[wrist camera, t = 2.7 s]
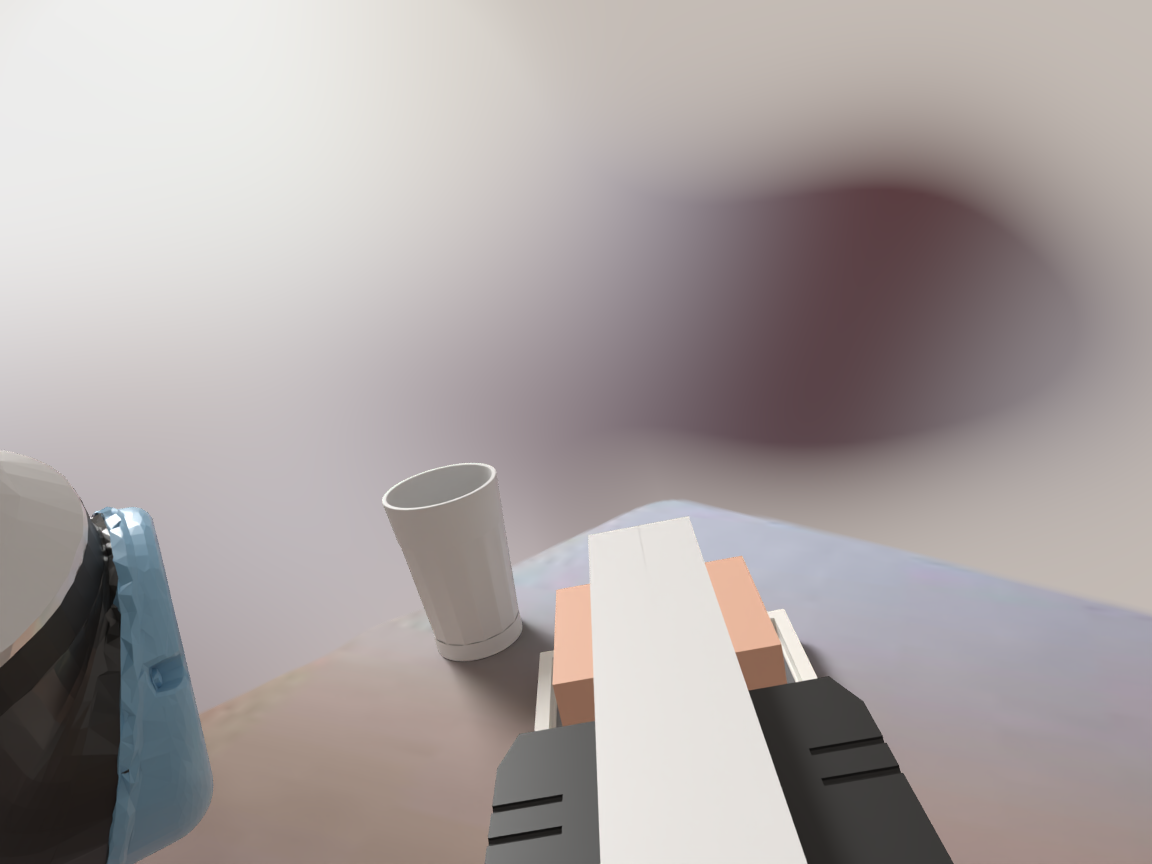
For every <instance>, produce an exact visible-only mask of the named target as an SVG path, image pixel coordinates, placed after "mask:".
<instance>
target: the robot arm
mask: <svg viewBox="0 0 1152 864" xmlns="http://www.w3.org/2000/svg"><path fill="white" fill-rule="evenodd" d="M588 544H589V571H590V598H591V624H592V651H593V678H594V704H595V721H591V722H585V723H579V724H574V725H568V726H562V727H557V728H551V729H545V730H540V731H534V732H528V733H523V734H519V735H518V737H517V738H516V740H515V742H514V743H513V745H512V746H511V748H510V749H509V751H508V753H507V754H506V756H505V757H504V759H503V760H502V762H501V764H500V765H499V767H498V768H497V775H496V782H495V790H494V797H493V805H492V807H493V814H491V820H490V827H489V835H488V841H489V846H488V847H487V850H486V857H485V864H954V863H953V862H952V860H951V858H950V856H949V854H948V853H947V851H946V849H945V847H944V845H943V844H942V842H941V840H940V838H939V836H938V835H937V833H936V831H935V829H934V827H933V826H932V824H931V822H930V820H929V819H928V817H927V815H926V813H925V811H924V810H923V808H922V806H921V804H920V802H919V801H918V799H917V797H916V795H915V793H914V792H913V790H912V788H911V786H910V784H909V783H908V781H907V779H906V777H905V775H904V774H903V773H901V771H900V768H899V765H898V763H897V761H896V759H895V757H894V756H893V754H892V752H891V750H890V748H889V747H888V745H887V743H884V740H883V736H882V734H881V732H880V730H879V729H878V727H877V725H876V723H875V722H874V720H873V718H872V716H871V714H870V713H869V711H868V709H867V707H866V705H865V704H864V702H863V701H862V700H861V699H859V698H858V697H856V696H855V695H854V694H852V693H851V692H850V691H848V690H847V689H845V688H844V687H843V686H841V685H840V684H839V683H837V682H836V681H835V680H833V679H832V678H830V677H829V676H828V677H822V678H817V679H811V680H805V681H800V682H794V683H788V684H783V685H777V686H771V687H766V688H760V689H754V690H748V688H747V685H746V682H745V680H744V677H743V674H742V671H741V668H740V665H739V662H738V659H737V656H736V653H735V650H734V647H733V644H732V642H731V639H730V636H729V633H728V630H727V627H726V624H725V621H724V618H723V615H722V612H721V609H720V606H719V603H718V601H717V598H716V595H715V592H714V589H713V586H712V583H711V580H710V577H709V574H708V571H707V568H706V565H705V562H704V560H703V557H702V554H701V551H700V548H699V545H698V542H697V539H696V536H695V533H694V530H693V527H692V524H691V522H690V519H689V516H687V517H682V518H676V519H671V520H666V521H660V522H655V523H650V524H645V525H639V526H634V527H629V528H624V529H618V530H613V531H608V532H602V533H597V534H592V535H588ZM212 794H213V777H212V771H211V766H210V762H209V757H208V753H207V749H206V744H205V740H204V736H203V731H202V727H201V723H200V718H199V714H198V710H197V705H196V701H195V697H194V692H193V688H192V684H191V680H190V675H189V672H188V667H187V662H186V658H185V654H184V650H183V645H182V641H181V637H180V632H179V628H178V624H177V620H176V616H175V612H174V608H173V604H172V599H171V595H170V590H169V586H168V581H167V577H166V573H165V569H164V565H163V560H162V556H161V552H160V548H159V543H158V539H157V535H156V532H155V528H154V524H153V519H152V517H151V516H150V515H149V513H148V512H146V511H145V510H143V509H141V508H136V507H128V508H122V509H115V508H111V507H106V508H104V509H102V510H100V511H95V512H94V514H93V515H92V517H91V518H90V517H89V515H88V513H87V511H86V509H85V507H84V505H83V502H82V501H81V499H80V497H79V496H78V494H77V493H76V491H75V490H74V488H73V487H72V486H71V485H70V483H69V482H68V480H67V479H66V478H65V476H63V475H62V474H61V473H59V472H57V470H55V469H54V468H52V467H51V466H49V465H47V464H45V463H43V462H41V461H38V460H36V459H34V458H31V457H28V456H24V455H21V454H18V453H13V452H7V451H2V450H0V864H134V863H136V862H138V861H140V860H142V859H144V858H145V857H147V856H149V855H151V854H153V853H155V852H157V851H159V850H161V849H163V848H164V847H166V846H168V845H170V844H172V843H174V842H176V841H178V840H179V839H181V838H182V837H184V836H185V835H187V834H188V833H189V832H190V831H192V830H193V829H194V828H195V827H196V825H197V824H198V823H199V822H200V821H201V819H202V818H203V816H204V815H205V813H206V811H207V809H208V807H209V804H210V802H211V799H212Z"/></svg>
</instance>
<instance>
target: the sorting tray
mask: <svg viewBox="0 0 1152 864" xmlns="http://www.w3.org/2000/svg"><path fill="white" fill-rule="evenodd" d="M767 613H768V615H769V617H770V620H771V622H772V624H773V626H774V629H775V631H776V633H777V635H778V638H779V640H780V642H781V645H782V651H783V658H784V665H785V672H786V679H787V684H788V683H794V682H800V681H805V680H811V679H817V676H816V674H815V672H814V670H813V668H812V665H811V663H810V661H809V659H808V657H807V655H806V653H805V651H804V649H803V647H802V645H801V643H800V641H799V639H798V637H797V635H796V633H795V631H794V629H793V627H792V625H791V623H790V620H789V618H788V616H787V614H786V612H785V610H784V609H780V610H774V611H769V612H767ZM553 660H554V650H552V651H546V652H541V653H540V662H539V675H538V689H537V703H536V717H535V731H540V730H545V729H551V728H557V727H562V722H561V718H560V714H559V710H558V705H557V701H556V697H555V693H554V689H553V685H552V683H553Z"/></svg>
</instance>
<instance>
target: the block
mask: <svg viewBox="0 0 1152 864" xmlns="http://www.w3.org/2000/svg"><path fill="white" fill-rule="evenodd" d="M705 565H706V568H707V571H708V574H709V577H710V580H711V583H712V586H713V589H714V592H715V595H716V598H717V601H718V603H719V606H720V609H721V612H722V615H723V618H724V621H725V624H726V627H727V630H728V633H729V636H730V639H731V642H732V644H733V647H734V650H735V653H736V656H737V659H738V662H739V665H740V668H741V671H742V674H743V677H744V680H745V682H746V685H747V688H748V690H754V689H760V688H766V687H771V686H777V685H783V684H787V679H786V672H785V665H784V658H783V651H782V645H781V642H780V640H779V638H778V635H777V633H776V631H775V629H774V626H773V624H772V622H771V620H770V617H769V615H768V613H767V611H766V608H765V606H764V604H763V602H762V600H761V597H760V595H759V593H758V591H757V588H756V586H755V584H754V582H753V579H752V577H751V575H750V573H749V570H748V568H747V566H746V564H745V561H744V559H743V557H742V556H738V557H733V558H727V559H722V560H716V561H711V562H705ZM552 685H553V689H554V693H555V697H556V701H557V705H558V710H559V714H560V718H561V722H562V726H568V725H574V724H579V723H585V722H591V721H595V704H594V678H593V651H592V624H591V598H590V584H586V585H581V586H575V587H570V588H564V589H559V590H557V591H556V614H555V637H554V660H553V683H552Z"/></svg>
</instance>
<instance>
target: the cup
mask: <svg viewBox="0 0 1152 864" xmlns="http://www.w3.org/2000/svg"><path fill="white" fill-rule="evenodd" d="M382 503H383V506H384V508H385V511H386V513H387V516H388V518H389V521H390V523H391V526H392V528H393V531H394V533H395V536H396V538H397V541H398V543H399V545H400V546H401V548H402V551H403V553H404V556H405V559H406V561H407V564H408V566H409V569H410V572H411V574H412V577H413V580H414V582H415V585H416V587H417V590H418V593H419V595H420V598H421V600H422V603H423V606H424V608H425V611H426V614H427V616H428V619H429V622H430V624H431V627H432V629H433V634H434V638H435V641H436V645H437V648H438V651H439V653H440V654H441V655H442V656H443V657H444V658H446V659H449V660H453V661H473V660H478V659H482V658H486V657H489V656H491V655H494V654H496V653H498V652H500V651H502V650H504V649H506V648H507V647H509V646H510V645H511V644H512V643H514V642H515V641H516V640H517V638H518V637H519V636H520V634H521V632H522V628H523V626H522V621H521V617H520V613H519V609H518V603H517V597H516V591H515V585H514V579H513V573H512V567H511V562H510V556H509V549H508V544H507V537H506V532H505V526H504V520H503V513H502V506H501V500H500V493H499V486H498V480H497V473H496V470H495V469H494V468H493V467H491V466H490V465H486V464H482V463H481V464H480V463H463V464H455V465H449V466H444V467H440V468H436V469H432V470H429V471H426V472H423V473H420V474H417V475H415V476H412V477H410V478H408V479H406V480H404V481H402V482H400V483H398V484H397V485H395V486H393V487H392V488H391V489H390V490H388V491H387V492H386V494H385V495H384V496H383V498H382Z"/></svg>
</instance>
